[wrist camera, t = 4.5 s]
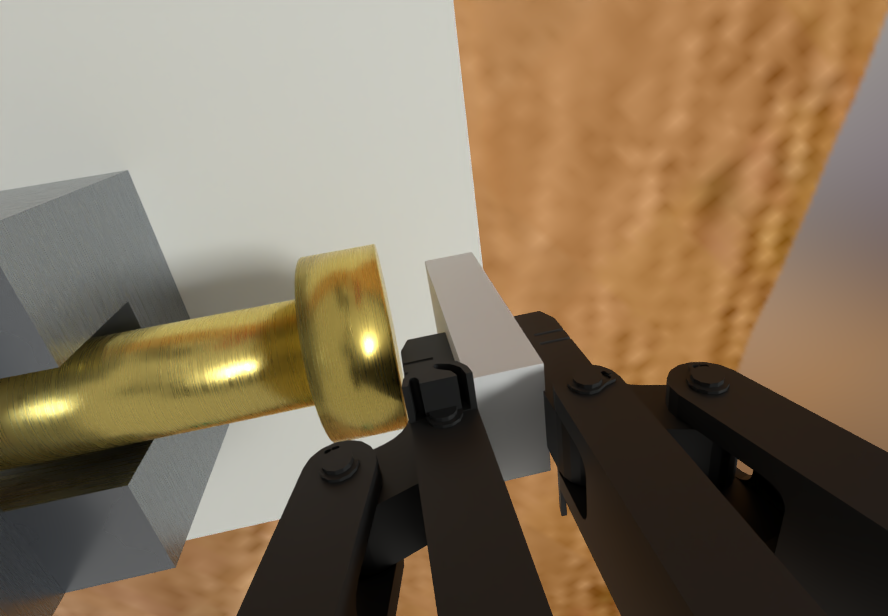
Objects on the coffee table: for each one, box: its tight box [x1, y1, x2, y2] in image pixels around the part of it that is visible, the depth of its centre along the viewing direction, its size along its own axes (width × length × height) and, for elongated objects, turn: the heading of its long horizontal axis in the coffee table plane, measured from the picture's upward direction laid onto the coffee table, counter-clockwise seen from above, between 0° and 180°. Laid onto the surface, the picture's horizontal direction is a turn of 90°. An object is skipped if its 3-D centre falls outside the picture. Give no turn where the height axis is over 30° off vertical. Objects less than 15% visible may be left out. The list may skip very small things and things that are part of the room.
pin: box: [0, 244, 409, 471], centre depth 13 cm, size 13×5×5 cm, turn 98°
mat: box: [0, 0, 483, 540], centre depth 18 cm, size 22×25×1 cm
